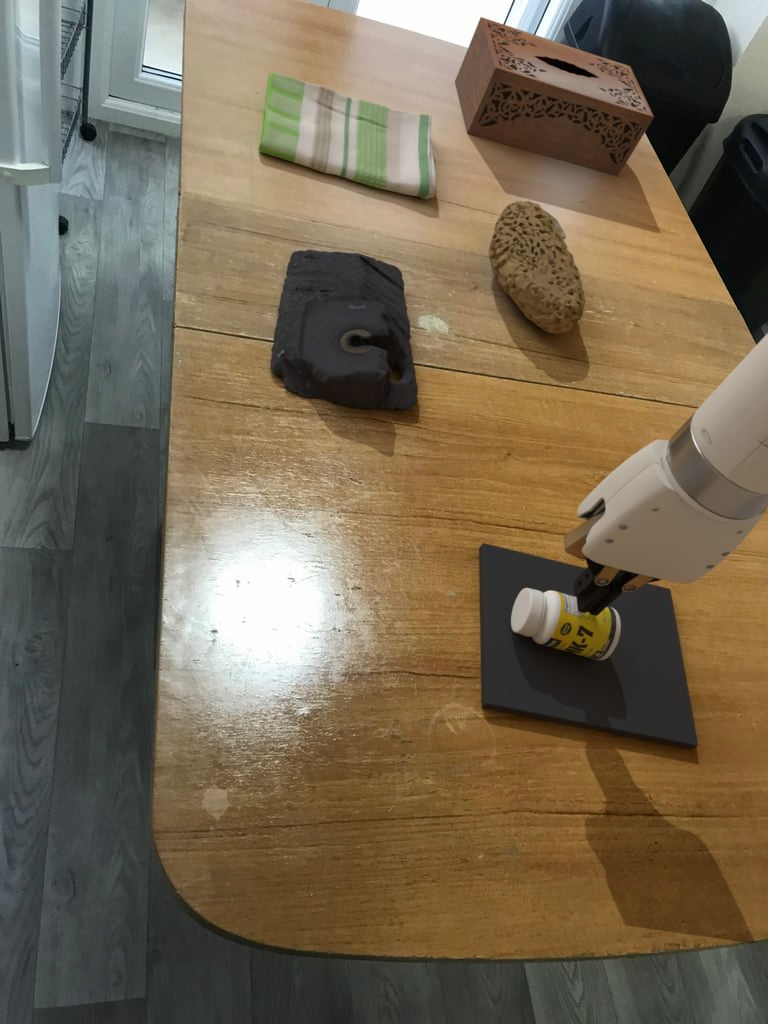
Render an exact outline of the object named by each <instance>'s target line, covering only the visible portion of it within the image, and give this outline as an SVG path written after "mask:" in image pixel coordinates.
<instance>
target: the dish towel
mask: <svg viewBox="0 0 768 1024" xmlns="http://www.w3.org/2000/svg"><path fill="white" fill-rule="evenodd" d="M267 77H268V78H267V83H266V91H265V92H266V94H265V101H264V102H265V103H264V109H263V115H262V117H263V118H262V128H261V134H260V141H259V144H258V148H257V151H258V152H259V153H263V154H265V155H266V154H267V155H269V156H271V157H276V158H278V159H282V160H285V161H288V162H291V163H294V164H297V165H301V166H304V167H307V168H310V169H312V170H315V171H318V172H321V173H325V174H330V175H335V176H337V177H342V178H345V179H348V180H350V181H353V182H356V183H360V184H362V185H365V186H368V187H373V188H375V189H379V190H382V191H389V192H393V193H394V192H395V193H398V194H401V195H406V196H414V197H418V198H420V199H423V200H428V199H430V198H431V199H432V198H434V197H435V196H436V192H437V191H436V190H437V174H436V173H437V172H436V168H435V167H436V166H435V165H436V164H435V160H434V151H433V142H432V141H433V140H432V117H433V116H431V115H430V114H426V113H425V114H424V113H414V112H408V111H405V110H398V109H392V108H390V107H387V106H385V105H383V104H382V105H381V104H379V103H375V102H373V101H369V100H364V99H360V98H355V97H350V96H347V95H344V94H341V93H339V92H337V91H335V90H332V89H331V88H327V87H325V86H323V85H320V84H319V85H318V84H315V83H312V82H311V83H310V82H307V81H304V80H301V79H297V78H295V77H291V76H288V75H287V76H286V75H283V74H279V73H277V72H274V71H271V72H269V74H268V76H267Z"/></svg>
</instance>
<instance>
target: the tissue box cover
mask: <svg viewBox="0 0 768 1024" xmlns="http://www.w3.org/2000/svg"><path fill="white" fill-rule="evenodd" d="M454 83H455V89H456V92H457V97H458V101H459V106H460V109H461V113H462V118H463V123H464V126H465V131H466V134H468V135H471V136H474V137H479V138H482V139H486V140H489V141H493V142H496V143H499V144H502V145H507V146H510V147H514V148H517V149H521V150H524V151H528V152H531V153H536V154H539V155H542V156H546V157H548V158H549V157H550V158H553V159H557V160H560V161H563V162H566V163H571V164H574V165H578V166H581V167H585V168H587V169H592V170H595V171H598V172H602V173H607V174H609V175H613V176H617V177H619V175H620V174H621V172H622V171H623V169H624V167H625V166H626V164H627V162H628V161H629V159H630V157H631V155H632V154H633V152H634V151H635V149H636V147H637V146H638V145H639V142H640V141H641V140H642V138H643V136H644V134H645V133H646V131H647V130H648V128H649V127H650V125H651V123H652V122H653V120H654V118H655V116H654V114H653V112H652V110H651V108H650V105H649V103H648V101H647V99H646V97H645V95H644V93H643V91H642V89H641V86H640V84H639V82H638V80H637V78H636V75H635V73H634V71H633V69H632V67H631V66H630V65H628V64H625V63H622V62H618V61H615V60H612V59H609V58H606V57H604V56H600V55H597V54H594V53H591V52H589V51H585V50H582V49H579V48H576V47H572V46H571V45H567V44H563V43H561V42H558V41H555V40H551V39H549V38H546V37H543V36H540V35H537V34H534V33H530V32H529V31H528V32H527V31H525V30H521V29H519V28H515V27H512V26H509V25H506V24H504V23H500V22H497V21H494V20H491V19H489V18H485V17H482V16H480V18H479V20H478V23H477V25H476V28H475V29H474V33H473V35H472V37H471V40H470V43H469V45H468V48H467V50H466V52H465V55H464V58H463V60H462V62H461V66H460V67H459V70H458V72H457V75H456V78H455V80H454Z"/></svg>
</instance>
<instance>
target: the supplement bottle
mask: <svg viewBox="0 0 768 1024" xmlns="http://www.w3.org/2000/svg"><path fill="white" fill-rule="evenodd" d="M511 627H512V630H513V631H514V632H515V633H518V634H521V635H524V636H528V637H531V636H532V638H533V640H534V641H535V642H536V643H538V644H541V645H544V646H548V647H552V648H556V649H559V650H563V651H567V652H570V653H574V654H577V655H581V656H585V657H589V658H592V659H596V660H604V659H606V658H608V657H609V656H610V655H611V654H612V652H613V651H614V649H615V647H616V645H617V643H618V640H619V637H620V632H621V621H620V617H619V614H618V612H617V611H616V610H615V609H614V608H611V607H608V606H607V607H606V608H605V609H604V610H603V611H602V612H601V613H600V614H598V615H597V616H595V615H591V614H590V613H589V612H586V613H582V612H579V611H578V607H577V597H574V596H570V595H567V594H563V593H560V592H557V591H546V592H544V593H543V592H541V591H538V590H534V589H530V588H524V589H523V590H522V591H521V592H520V593H519V595H518V596H517V598H516V600H515V603H514V606H513V610H512V615H511Z"/></svg>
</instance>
